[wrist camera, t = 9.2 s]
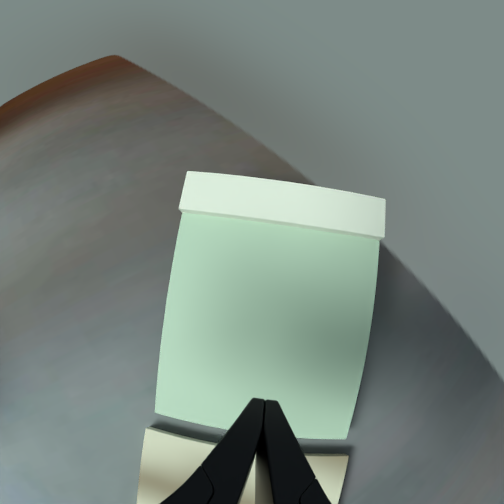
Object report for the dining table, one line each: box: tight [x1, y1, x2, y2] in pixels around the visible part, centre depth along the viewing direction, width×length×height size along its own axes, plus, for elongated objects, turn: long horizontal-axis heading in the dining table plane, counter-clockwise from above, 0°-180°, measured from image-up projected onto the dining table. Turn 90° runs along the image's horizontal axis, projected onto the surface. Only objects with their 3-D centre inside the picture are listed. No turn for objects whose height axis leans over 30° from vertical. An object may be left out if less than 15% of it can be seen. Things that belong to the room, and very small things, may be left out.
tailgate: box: [155, 171, 386, 439], centre depth 16 cm, size 2×12×15 cm
